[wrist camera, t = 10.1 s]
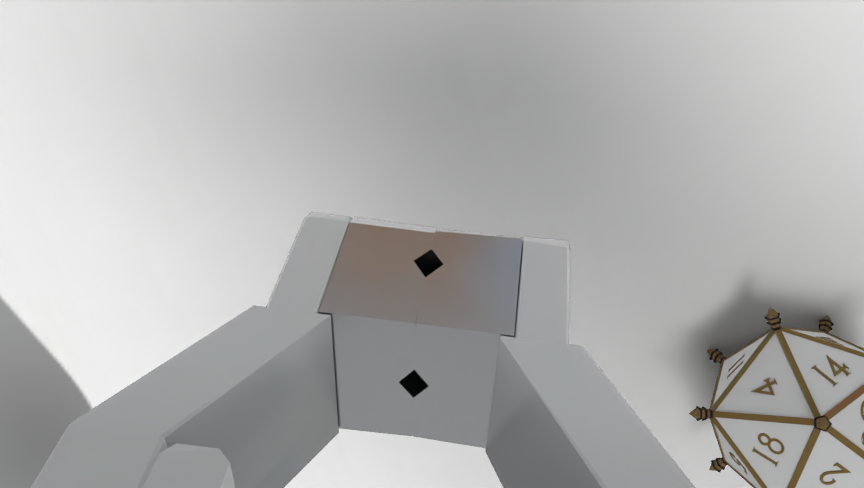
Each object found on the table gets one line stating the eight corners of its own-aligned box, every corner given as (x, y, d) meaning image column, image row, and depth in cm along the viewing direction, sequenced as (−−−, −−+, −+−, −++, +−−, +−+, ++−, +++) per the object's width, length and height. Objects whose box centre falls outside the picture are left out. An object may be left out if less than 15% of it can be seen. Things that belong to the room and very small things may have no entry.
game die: (725, 291, 39) (738, 265, 29) (917, 350, 36) (1000, 343, 27) (667, 466, 38) (663, 498, 29) (857, 540, 36) (920, 602, 26)
